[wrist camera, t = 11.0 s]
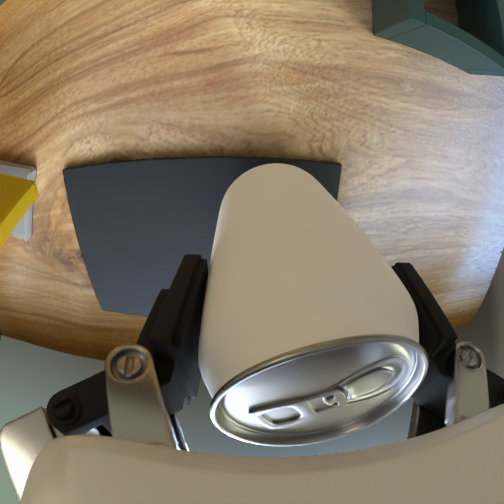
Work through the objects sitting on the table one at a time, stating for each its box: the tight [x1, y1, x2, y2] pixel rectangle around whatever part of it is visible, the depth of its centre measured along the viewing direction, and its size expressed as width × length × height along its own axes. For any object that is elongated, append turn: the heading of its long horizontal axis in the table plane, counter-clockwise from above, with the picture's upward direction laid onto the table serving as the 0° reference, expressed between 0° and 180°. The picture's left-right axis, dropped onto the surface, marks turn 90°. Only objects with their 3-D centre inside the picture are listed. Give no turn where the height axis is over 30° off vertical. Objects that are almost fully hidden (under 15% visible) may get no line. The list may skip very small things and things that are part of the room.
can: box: [198, 163, 429, 446], centre depth 11 cm, size 6×6×12 cm
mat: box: [63, 156, 342, 317], centre depth 20 cm, size 20×14×1 cm
